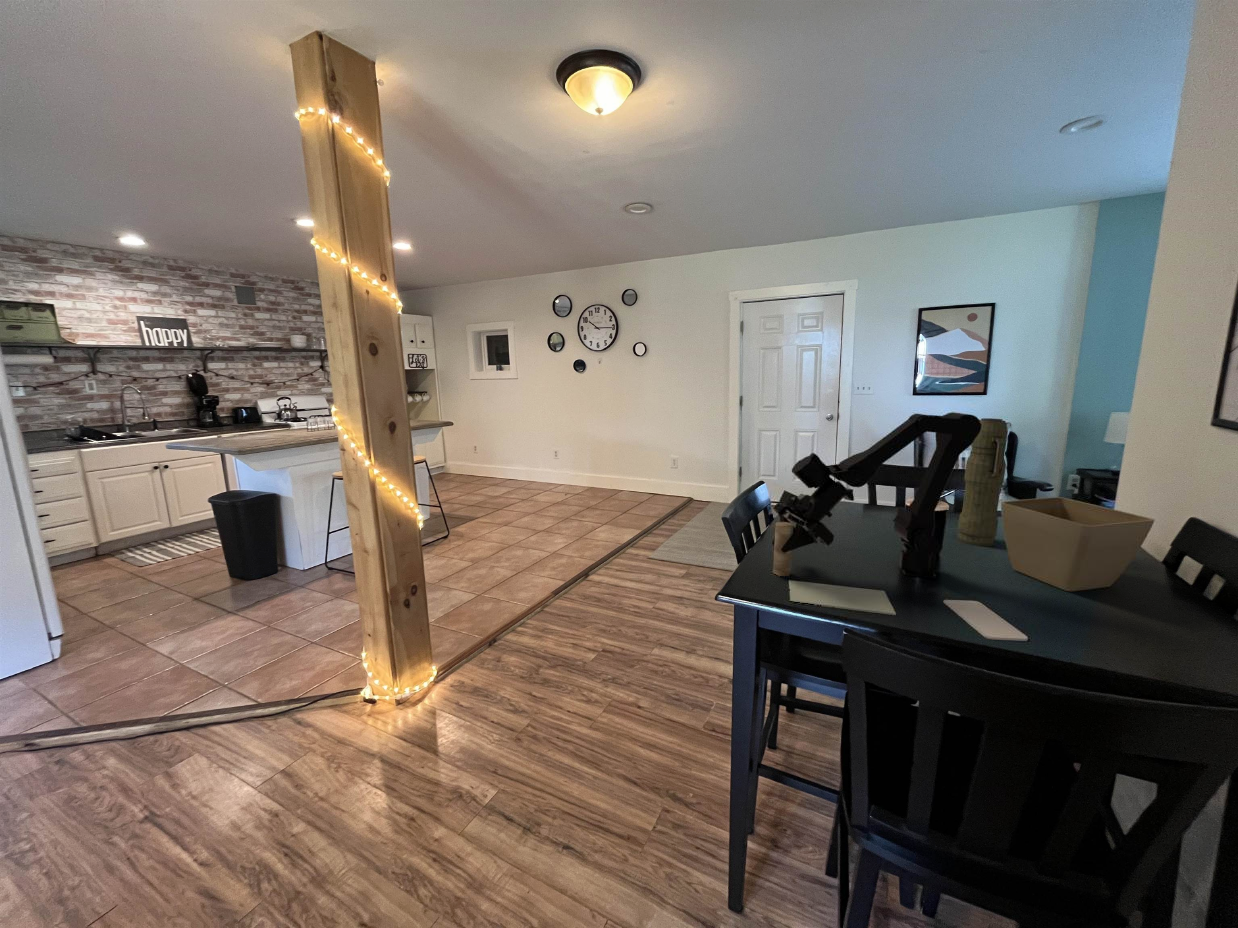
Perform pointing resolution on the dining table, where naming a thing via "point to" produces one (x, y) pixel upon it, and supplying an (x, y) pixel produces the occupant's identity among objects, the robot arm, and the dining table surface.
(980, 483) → the thermos
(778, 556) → the maple post
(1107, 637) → the dining table surface
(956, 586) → the dining table surface
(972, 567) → the dining table surface
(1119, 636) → the dining table surface
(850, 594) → the sage mat
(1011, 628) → the smartphone
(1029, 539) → the flower pot
